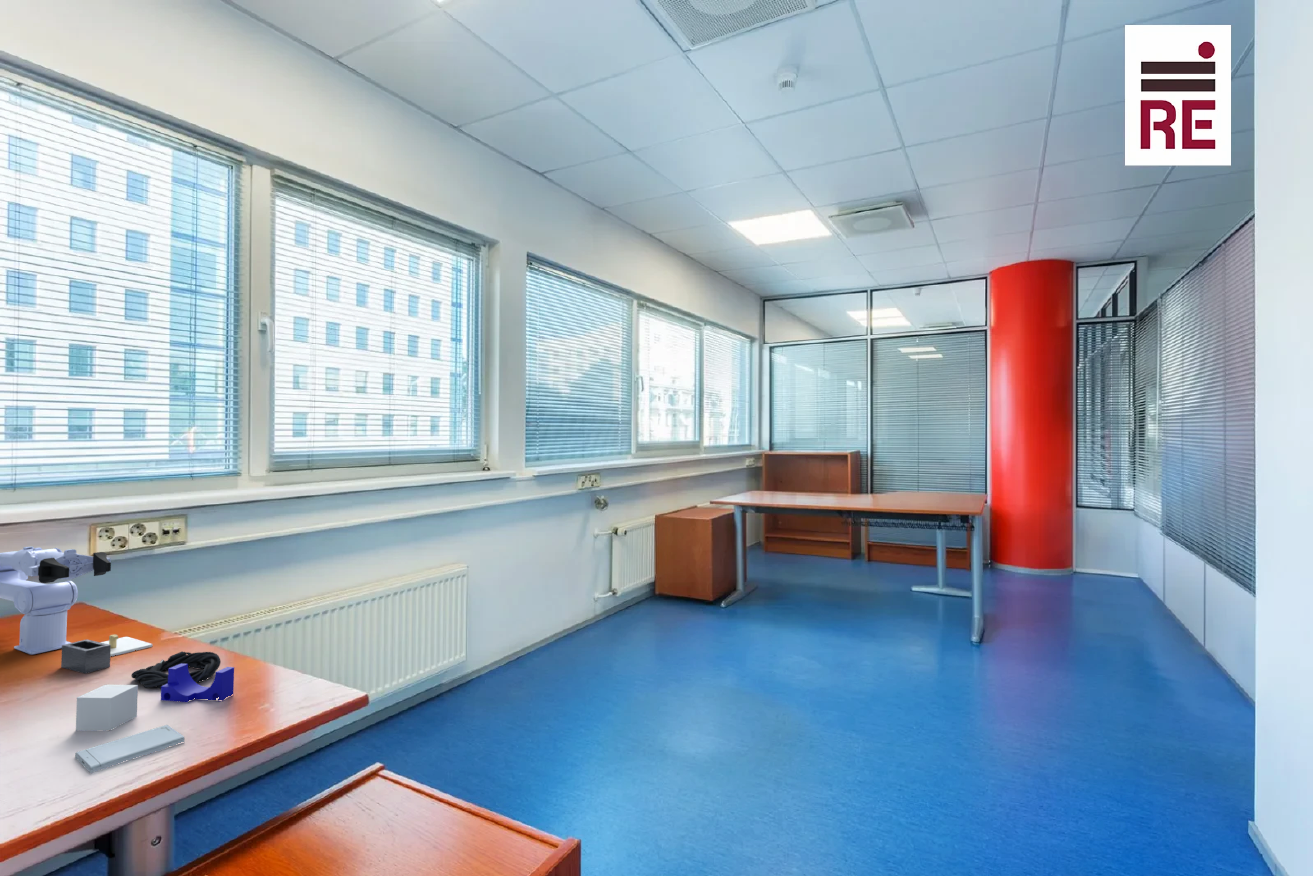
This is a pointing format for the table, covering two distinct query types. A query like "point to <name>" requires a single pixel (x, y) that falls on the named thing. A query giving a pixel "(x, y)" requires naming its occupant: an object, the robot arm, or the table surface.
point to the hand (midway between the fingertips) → (88, 569)
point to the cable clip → (196, 685)
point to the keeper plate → (125, 645)
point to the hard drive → (128, 748)
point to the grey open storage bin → (85, 656)
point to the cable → (197, 660)
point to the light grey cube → (106, 707)
